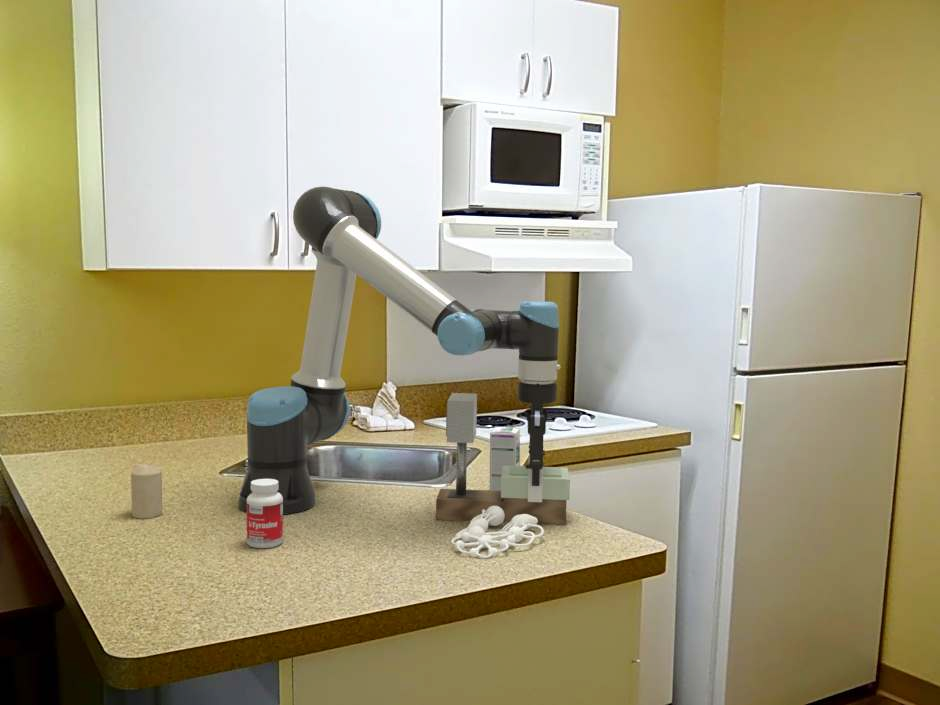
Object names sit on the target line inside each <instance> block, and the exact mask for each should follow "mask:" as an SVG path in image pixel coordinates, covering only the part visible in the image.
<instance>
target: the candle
mask: <svg viewBox="0 0 940 705" xmlns="http://www.w3.org/2000/svg"><path fill="white" fill-rule="evenodd" d="M162 471H163V470H162V468H159V467H158V466H157V465H155V464H151V463H144V462H141V463H139V464H138V465H137V466H136V467H134V468H133V470H132V471H131V472H130V479H131V480H130V482H131V483H130V485H131V487H130V489H131V516H132V518H134V519H141V520H142V519H155V518H158V517H160V516H162V515H163V478H162V477H163V475H162V473H163V472H162Z"/></svg>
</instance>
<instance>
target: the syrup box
mask: <svg viewBox="0 0 940 705" xmlns="http://www.w3.org/2000/svg"><path fill="white" fill-rule="evenodd" d="M503 466H521V429H520V428H519V427H512V426H495V427H494V428H493V429H492V430H491V431H490V432H489V490H492V491H501V476H502V468H503Z"/></svg>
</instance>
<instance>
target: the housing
mask: <svg viewBox="0 0 940 705" xmlns="http://www.w3.org/2000/svg"><path fill="white" fill-rule="evenodd" d="M435 506H436V507H435V520H438V521H439V520H440V521H460V522H461V521H464V522H465V521H466V522H471V520H472V519H473V518H474V517H476V516H478V515H480V514H482V510H483V509H484V510H485V512H486V510H487V509H488V508H489V507H491V506H498V507H500V508H501V509H502V510H503V511H504V514H505V518H504V521H503V522H502V523H509V522H511V520H512V518H513V517H514V516H516V515H520V514H528V515H531V516H533V517H536V518H537V520H538V523H537V525H540V524H542V525H544V524H545V525H547V524H548V525H567V524H566V522H567V500H552V499H542V502H528V499H524V498H501V491H492V490H490V489H488V490H487V489H466V494H465V495H457V494H456V488H440V489H439V492H438V494H437V496H436V499H435ZM483 518H485V517H483Z"/></svg>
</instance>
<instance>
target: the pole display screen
mask: <svg viewBox="0 0 940 705" xmlns="http://www.w3.org/2000/svg"><path fill="white" fill-rule="evenodd" d="M477 405H478V393H472V392H471V393H468V392H465V393H464V392H462V393H461V392H452V393H451V395H449V397H448V398H447V404H446V412H445V414H446V415H445V416H446V417H445V418H446V419H445V420H446V421H445V423H446V424H445V425H446V426H445V437H446V442H447V443H455V444H456V471H455V472H456V475H455V478H456V480H455V489H456V494H457V495H465V494H466V490H467V471H468V470H467V466H468V464H467V463H468V462H467V461H468V459H467V458H468V444H473V443H474V441H475V439H476V436H477V422H478V421H477V419H478V418H477V416H478V415H477V413H478V412H477V410H478V406H477Z"/></svg>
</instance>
